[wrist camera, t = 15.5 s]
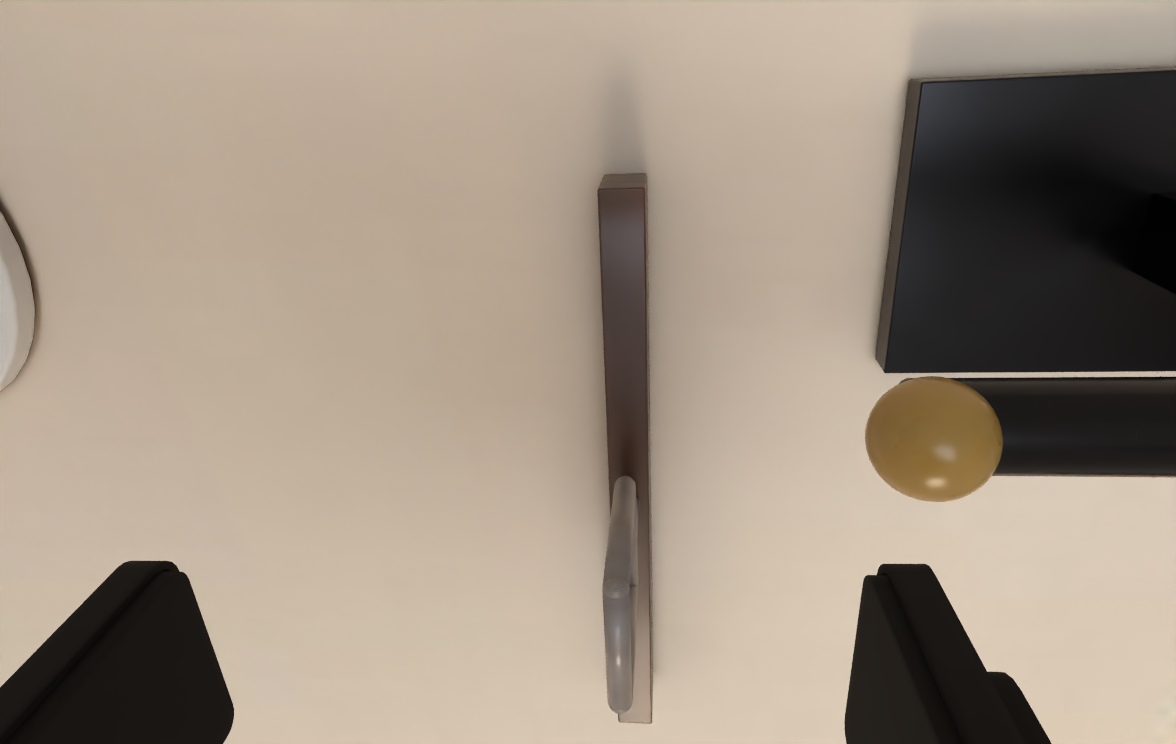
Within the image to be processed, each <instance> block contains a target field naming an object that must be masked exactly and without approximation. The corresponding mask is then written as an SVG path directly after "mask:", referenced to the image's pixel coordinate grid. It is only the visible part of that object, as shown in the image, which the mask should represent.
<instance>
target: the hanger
mask: <svg viewBox="0 0 1176 744" xmlns="http://www.w3.org/2000/svg"><path fill="white" fill-rule="evenodd" d="M598 215H599V240H600V266H601V291H602V316H603V342H604V367H605V393H606V418H607V444H608V469H609V494H610V527H609V535H608V544H607V553H606V562H605V570H604V579H603V589H602V590H603V611H604V632H605V653H606V675H607V696H608V704H609V707H610V708H611V710H612V711H614V712H615V713H618V721H619V722H627V723H647V724H651V723H652V701H653V637H652V548H651V460H650V372H649V283H648V195H647V174H645V173H643V174H609V175H604V177H603V179H602V181H601V184H600V186H599V188H598Z"/></svg>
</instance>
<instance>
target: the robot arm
mask: <svg viewBox="0 0 1176 744" xmlns="http://www.w3.org/2000/svg"><path fill="white" fill-rule="evenodd" d="M34 317H35V307H34V300H33V294H32V287H31V280H30V277H29V274H28V271H27V268H26V265H25V262H24V259H23V256H22V253H21V250H20V247H19V245H18V243H17V241H16V240H15V238H14V236H13V234H12V232H11V230H10V228H9V226H8V224H7V222H6V220H5V218H4V216H3V214H2V213H1V212H0V392H1V391H2V390H3V389H4V388H5V387H6V386H8V385H9V384H10V383H11V382H12V381H13V380H14V379H15V377H16V376H17V374H18V373H19V371H20V370H21V368H22V366H23V365H24V363H25V362H26V360H27V356H28V353H29V350H30V346H31V343H32V340H33V336H34ZM233 718H234V708H233V703H232V700H231V698H230V695H229V692H228V689H227V686H226V683H225V681H224V678H223V675H222V672H221V669H220V666H219V663H218V661H217V658H216V655H215V652H214V649H213V646H212V644H211V641H210V638H209V635H208V632H207V629H206V626H205V624H204V621H203V618H202V615H201V612H200V609H199V607H198V604H197V601H196V598H195V595H194V592H193V589H192V587H191V584H190V581H189V579H188V577H187V575H186V574H185V573H183V572H179V570H178V568H177V566H176V565H175V564H174V563H172V562H169V561H128V562H125V563H123V564H122V565H120V566H119V567H118V568H117V569H116V570H115V571H114V572H113V573H112V574H111V575H110V576H109V577H108V578H107V579H106V580H105V581H104V582H103V583H102V584H101V585H100V586H99V587H98V588H97V589H96V590H95V591H94V592H93V593H92V594H91V595H90V596H89V597H88V598H87V599H86V600H85V601H84V602H83V604H82V605H81V606H80V607H79V608H78V609H77V610H76V611H75V612H74V613H73V614H72V615H71V616H70V617H69V618H68V619H67V620H66V621H65V622H64V623H63V624H62V625H61V626H60V627H59V628H58V629H57V630H56V631H55V632H54V633H53V634H52V635H51V636H50V637H49V638H48V639H47V640H46V641H45V642H44V643H43V644H42V645H41V646H40V647H39V649H38V650H37V651H36V652H35V653H34V654H33V655H32V656H31V657H30V658H29V659H28V660H27V661H26V662H25V663H24V664H23V665H22V666H21V667H20V668H19V669H18V670H17V671H16V672H15V673H14V674H13V675H12V676H11V677H10V678H9V679H8V680H7V681H6V682H5V683H4V684H3V685H2V686H1V687H0V744H223V743H224V741H225V739H226V738H227V736H228V734H229V732H230V730H231V727H232V724H233ZM845 736H846V743H847V744H1051V742H1050V740H1049V738H1048V737H1047V735H1046V733H1045V731H1044V730H1043V728H1042V726H1041V724H1040V723H1039V721H1038V719H1037V717H1036V716H1035V714H1034V712H1033V710H1032V709H1031V707H1030V705H1029V703H1028V702H1027V700H1026V698H1025V696H1024V695H1023V693H1022V691H1021V690H1020V688H1019V687H1018V685H1017V684H1016V683H1015V681H1014V680H1013V679H1012V678H1011V677H1010V676H1009V675H1007V674H1006V673H1004V672H987V671H986V669H985V667H984V665H983V663H982V661H981V660H980V658H979V656H978V654H977V652H976V650H975V648H974V647H973V645H972V643H971V641H970V639H969V637H968V635H967V634H966V632H965V630H964V628H963V626H962V624H961V622H960V621H959V619H958V617H957V615H956V613H955V611H954V609H953V607H952V606H951V604H950V602H949V600H948V598H947V596H946V594H945V593H944V591H943V589H942V587H941V585H940V583H939V581H938V580H937V578H936V576H935V574H934V572H933V571H932V569H931V568H930V566H928V565H926V564H882V565H880V567H879V569H878V573H877V575H867V576H865V578H864V582H863V588H862V595H861V602H860V610H859V617H858V625H857V632H856V639H855V647H854V654H853V662H852V669H851V676H850V684H849V691H848V699H847V706H846V713H845Z"/></svg>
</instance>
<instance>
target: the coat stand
mask: <svg viewBox="0 0 1176 744" xmlns="http://www.w3.org/2000/svg"><path fill="white" fill-rule="evenodd" d="M876 360H877V362H878V363H879V365H880V367H881V368H882V370H883V371H884V372H885V373H958V372H1115V371H1176V67H1156V68H1136V69H1115V70H1094V71H1073V72H1052V73H1031V74H1010V75H989V76H968V77H948V78H927V79H911V80H910V81H909V87H908V95H907V103H906V112H905V120H904V128H903V136H902V144H901V153H900V161H899V169H898V177H897V186H896V194H895V202H894V210H893V218H892V227H891V235H890V243H889V251H888V259H887V268H886V276H885V284H884V292H883V300H882V309H881V317H880V325H879V333H878V341H877V350H876ZM865 442H866V449H867V453H868V456H869V459H870V461H871V463H872V465H873V467H874V468H875V470H876V471H877V473H878V474H879V475H880V477H881V478H882V479H883V480H884V481H885V482H886V483H887V484H889V485H890V486H891V487H892V488H894V489H895V490H897V491H899V492H900V493H902V494H904V495H906V496H909V497H912V498H915V499H918V500H923V501H932V502H944V501H951V500H955V499H959V498H962V497H964V496H966V495H969V494H971V493H972V492H974V491H976V490H977V489H979V488H980V487H981V486H982V485H984V484H985V483H986V482H987V481H988V479H989V478H990V477H991V476H1076V477H1176V377H1061V378H944V377H933V376H931V377H919V378H906V379H904V380H902V381H901V382H900V383H899V384H898V385H896V386H894V387H893V388H891V389H890V390H888V391H887V392H886V393H885V394H884V395H883V396H882V397H881V398H880V399H879V400H878V401H877V403H876V404H875V406H874V407H873V409H872V411H871V413H870V415H869V418H868V420H867V425H866V430H865Z"/></svg>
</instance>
